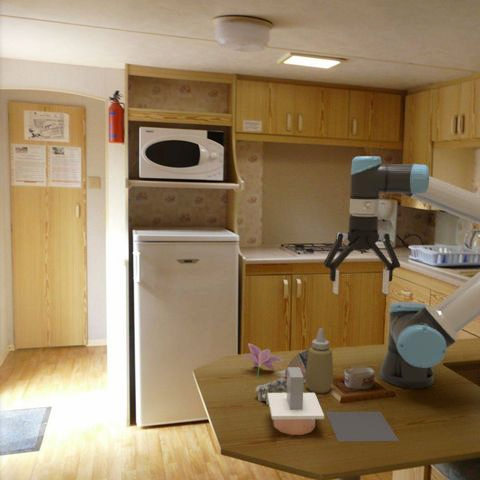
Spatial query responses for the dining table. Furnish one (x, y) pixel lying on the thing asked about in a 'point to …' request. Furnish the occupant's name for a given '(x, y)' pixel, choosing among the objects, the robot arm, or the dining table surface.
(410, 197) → the robot arm
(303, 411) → the cover sheet
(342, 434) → the rubber mat
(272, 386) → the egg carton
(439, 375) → the dining table surface
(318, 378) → the squeeze bottle
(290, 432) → the bowl
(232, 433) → the dining table surface
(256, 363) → the lily
